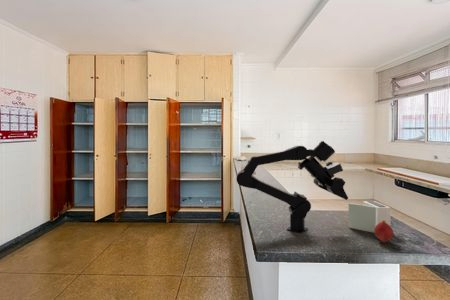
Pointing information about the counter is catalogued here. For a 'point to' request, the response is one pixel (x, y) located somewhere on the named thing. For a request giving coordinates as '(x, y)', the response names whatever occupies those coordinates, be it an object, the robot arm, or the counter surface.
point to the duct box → (380, 211)
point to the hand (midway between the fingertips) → (341, 196)
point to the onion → (383, 231)
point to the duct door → (362, 217)
